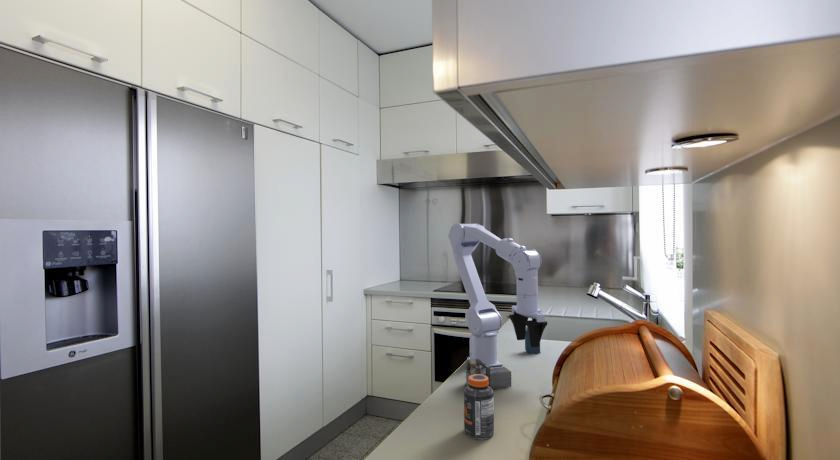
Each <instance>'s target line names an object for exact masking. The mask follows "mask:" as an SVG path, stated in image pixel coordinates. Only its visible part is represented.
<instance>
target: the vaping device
mask: <svg viewBox="0 0 840 460" xmlns="http://www.w3.org/2000/svg"><path fill="white" fill-rule="evenodd" d="M524 350H525V352H526V353H527V354H541V344H540V345H539V347H531V344H530V337H529V331H528V328H527V326H526V335H525V340H524Z"/></svg>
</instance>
